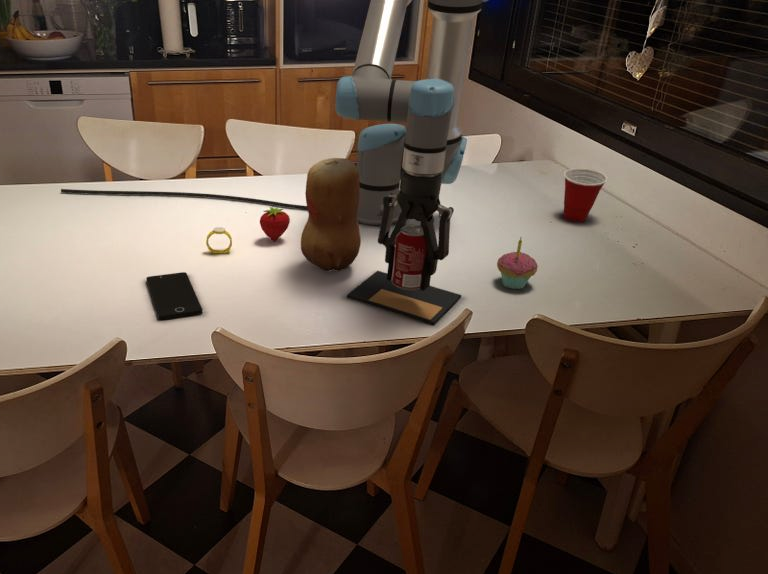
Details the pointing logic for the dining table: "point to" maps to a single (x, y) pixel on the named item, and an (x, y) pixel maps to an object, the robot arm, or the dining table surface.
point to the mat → (404, 299)
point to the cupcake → (516, 268)
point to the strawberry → (274, 223)
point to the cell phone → (173, 295)
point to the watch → (219, 231)
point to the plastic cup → (581, 192)
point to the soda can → (409, 257)
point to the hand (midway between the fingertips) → (408, 282)
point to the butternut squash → (332, 215)
